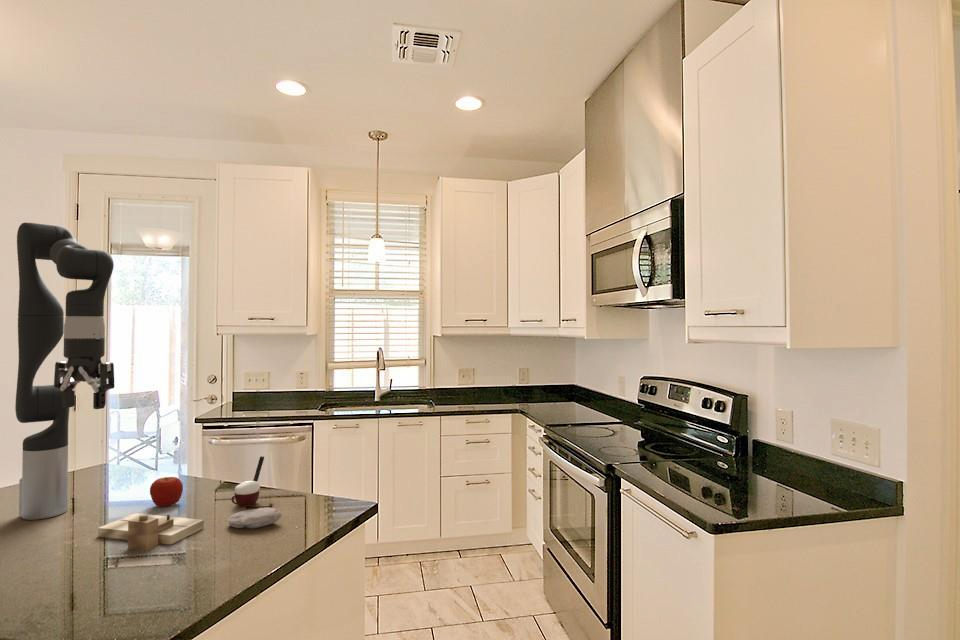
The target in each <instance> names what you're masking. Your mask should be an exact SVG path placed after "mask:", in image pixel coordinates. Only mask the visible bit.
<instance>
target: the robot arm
mask: <svg viewBox="0 0 960 640" xmlns="http://www.w3.org/2000/svg"><path fill="white" fill-rule="evenodd" d="M16 251H17V252H16V253H17V265H18V287H19V288H18V289H19V291H18V306H17V307H18V309H17V310H18V311H17V341H18V347H17V348H18V369H17V378H16V379H17V380H16V390H15V391H16V392H15V393H16V394H15V409H14V410H15V418H16V420H17V421H18V422H19V423H21V424H22V423H23V424H26V423H27V424H28V423H39V422H51V421H52V422H51V424H50V425H49V426H48V427H46V428H45V429H43V430H41V431H39V432H37V433H33V434H31V435H28V436H26V437H25V438H23V441H22V453H21V454H22V459H21V460H22V467H21V468H22V470H21V471H22V472H21V478H20V479H19V482H18V483H19V484H18V485H19V486H18V487H19V488H18V492H19V493H18V494H19V495H18V496H19V497H18V516H19V517H21V519H23V520H26V521H27V520H28V521H29V520H30V521H31V520H43V519H48V518H52V517H56V516H60V515H61V514H65V513H67V511H68V487H69V482H68V481H69V480H68V479H69V474H68V473H69V418H70V408H73V407H74V406H75V402H76V401H75V400H76V399H75V396H76V395H75V391H76V390H75V388H76V387H77V385H78V384H79V383H81V382H85V383H87V385H89V386H90V387H91V389H92V390H93V391H94V392H93V399H92V401H93V402H92V404H93V410H101V409H104V408H105V406H106V401H107V400H106V399H107V397H106V396H107V391H109V390H111V389H115V366H114V363H113V362H111V361H110V362H102V357H104V356H105V353H106V352H105V349H106V347H105V346H106V344H105V343H106V339H105V337H106V333H105V332H106V327H105V319H104V312H105V311H104V310H105V309H104V306H105V304H104V303H105V302H104V301H105V297H106V293H107V288H108V285H109V283H110V279H111V277H112V274H113V271H114V267H115V265H114V263H115V262H114V260H113V257H112V256H111V254H109V252H107V251H105V250H98V249H88V248H87V247H86V246H84V245H83V244H81V243H79V242H78V240H77V239H76V238H75V237H74V235H73V233H72V232H71V231H70V230H68V228H66V227H63V226H58V225H51V224H42V223H35V222H22V223H21V224H20V225H19V227H18V229H17V233H16ZM36 260H42V261H43V260H46V261H52V262H53V263H54V265H56V271H57V273H58V275H59V276H60V277H62V278H65V279H69V280H78V281H79V280H82V281H91V284H90V286H89V287H87V288H84V289H77V290H76V289H75V290H70V291H68V292H67V293H66V295H65V313H64V309H63V306H62V305H61V303H60V302H59V300H58V299H57V297H56V296H55V295H54V293H53V292H52V291H51V290H50V289H49V287H48V286H47V285H46V283H45V282H44V280H43V278H42V277H41V275H40V273H39V270H38V266H37V262H36ZM64 314H65V318H64ZM64 319H65V320H64ZM62 338H63V357H64V358H66V359H67V361H56V362H55V363H54V364H55V365H54V377H53V384H51V385H49V384H47V385H34V380H35V377H36V375H37V372H38V371H39V369H40V368H41V365H42V364H43V363H44V361H45V360H46V358H48V356H49V355H50V354H51V353H52V352H53V350H54V349H55V348H56V346H58V345H59V342H60V341H61V340H62ZM61 378H62V382H61ZM107 381H108V383H107Z"/></svg>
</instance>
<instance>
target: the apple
mask: <svg viewBox="0 0 960 640" xmlns="http://www.w3.org/2000/svg"><path fill="white" fill-rule="evenodd" d="M183 490H184V486H183V482H182V481H181V479H180V478H178V477H177V476H165V477H160V478H158V479H156V480H155V481H153V482H152V483H151V485H150V488H149V496H151V497H150V498H151V500H152V502H153V504H154V505H156V506H158V507H160V508H164V507H165V508H166V507H167V508H168V507H171V506H174V505H175V504H178V502H179V501H180V500H181V498H182V494H183Z"/></svg>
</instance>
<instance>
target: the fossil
mask: <svg viewBox="0 0 960 640" xmlns="http://www.w3.org/2000/svg"><path fill="white" fill-rule="evenodd" d="M281 518H282V512H281V511H277V509H276V508H273V507H268V506H267V507H259V508H257V509H247V510H246V509H245V510H242V511H238V512H236V513H234V514H231V516H229V518H228V519H227V523H228V525H230V527H233V528H237V529H243V528H248V529H258V528H261V527H266V526H270V525H272V524H274V523H276V522H278V521H279V520H280V519H281Z"/></svg>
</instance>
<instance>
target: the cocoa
mask: <svg viewBox="0 0 960 640" xmlns="http://www.w3.org/2000/svg"><path fill="white" fill-rule="evenodd" d="M264 460H265V456H264V455H260V456H259V459H258V463H257V466H256V470H255V474H254V477H253V480H246V481H243V482H241V483H239V484H238V485H236V486H235V487H234V495H233V496H232V497H231V502H232V503H233V504H234V505H236V506H239V505H240V506H239V507H244V506H245V507H250V506H249V505H251V506H253V505H255V504H256V503H257V501H258V499H259V496H260V489H261V485H260V483H259V482H258V481H259V477H260V474H261V472H262V471H261V470H262V466H263V463H264Z"/></svg>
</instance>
